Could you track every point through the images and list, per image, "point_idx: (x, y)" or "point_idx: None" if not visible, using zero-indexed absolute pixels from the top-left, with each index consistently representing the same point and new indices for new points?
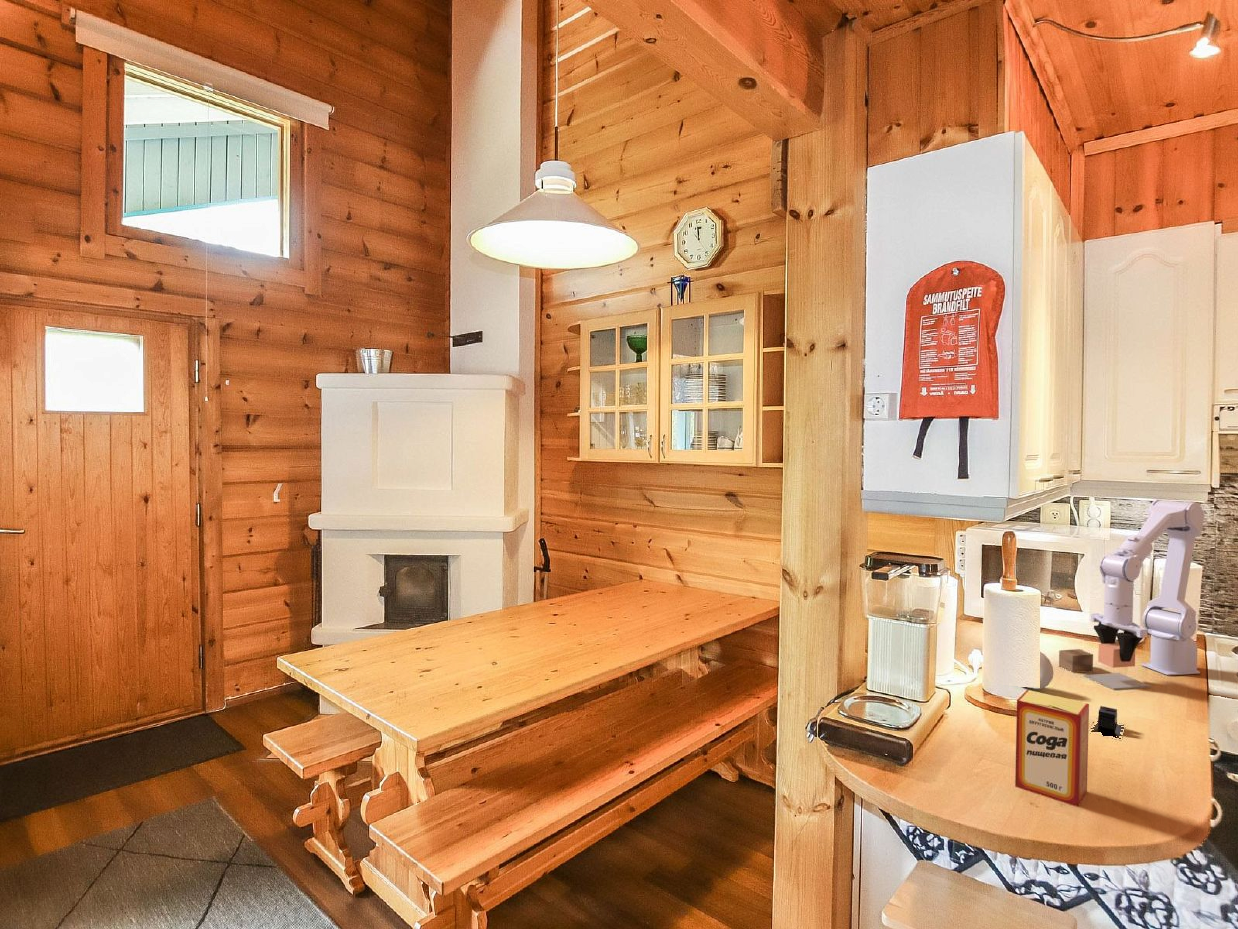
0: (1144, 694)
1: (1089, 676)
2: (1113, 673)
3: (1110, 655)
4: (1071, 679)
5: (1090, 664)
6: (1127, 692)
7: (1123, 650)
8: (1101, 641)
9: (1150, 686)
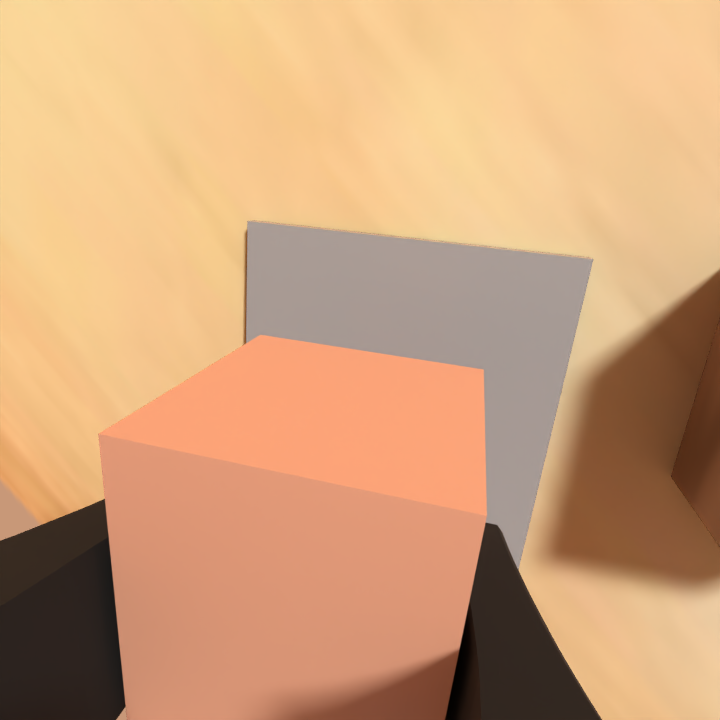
0: (153, 361)
1: (542, 280)
2: (520, 539)
3: (232, 390)
4: (584, 52)
5: (707, 491)
6: (198, 282)
7: (29, 531)
8: (547, 682)
9: None
